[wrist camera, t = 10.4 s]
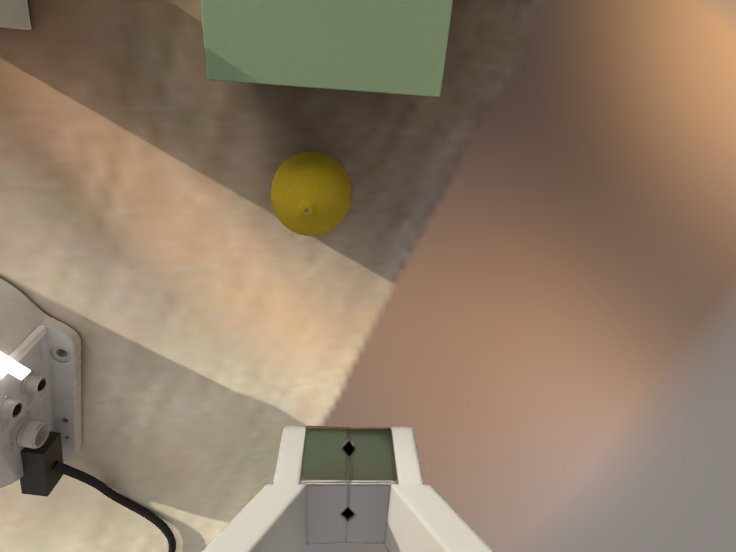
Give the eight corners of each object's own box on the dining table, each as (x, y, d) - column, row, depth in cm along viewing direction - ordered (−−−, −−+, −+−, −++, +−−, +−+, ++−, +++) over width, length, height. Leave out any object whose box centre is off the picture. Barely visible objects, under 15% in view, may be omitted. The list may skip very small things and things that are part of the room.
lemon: (352, 143, 33) (351, 165, 26) (352, 214, 35) (351, 253, 28) (277, 142, 33) (256, 164, 25) (282, 214, 35) (264, 252, 28)
